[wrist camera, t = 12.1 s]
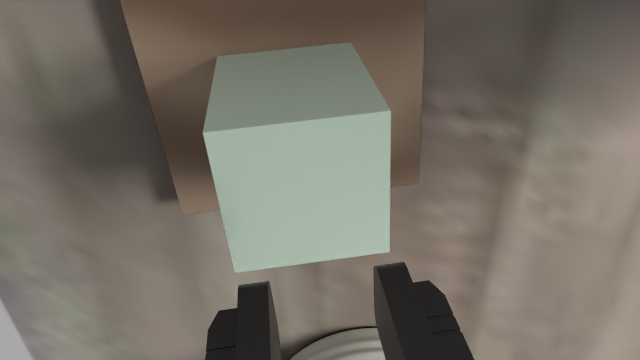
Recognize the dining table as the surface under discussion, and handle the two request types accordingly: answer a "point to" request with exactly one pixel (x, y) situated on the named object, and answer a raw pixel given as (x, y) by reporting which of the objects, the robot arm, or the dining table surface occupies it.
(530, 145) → the dining table surface
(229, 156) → the sage cap
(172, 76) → the walnut board
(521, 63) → the dining table surface
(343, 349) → the jar
